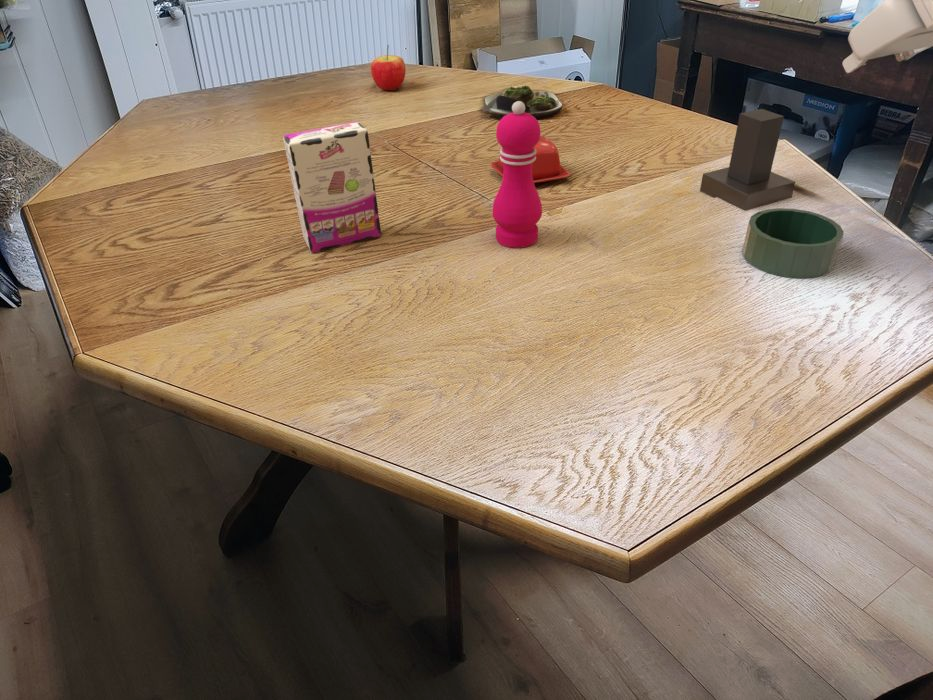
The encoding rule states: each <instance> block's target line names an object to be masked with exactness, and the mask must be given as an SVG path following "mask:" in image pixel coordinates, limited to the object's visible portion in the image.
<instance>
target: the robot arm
mask: <svg viewBox="0 0 933 700" xmlns="http://www.w3.org/2000/svg"><path fill="white" fill-rule="evenodd" d="M847 41H848V44H849V46H850V49H851V50H852V53H851V54H850V55H848V56H847V57H846V58H845V59H843V61H842V67H843V70H844V71H845V72H846V74H850V73H855V72H858V71H860V69H862V68H864V67H865V66H866V65H867V63H866V62H867V61H869V60H874V59H877V58H883V57H888V56H893V55H894V57H895V60H896V61H897V62H903V61H904V62H905V61H908V60H910V59H911V58H913V57H914V56H916V55H917V54H919V53H922V52H923V51H926V50H928V49H930V48H932V47H933V0H883V1H882V2H880V4H878V5H877V6H876V7H874V8H873V10H872V11H870V12H869V13H868V14H867V15H866V16H865V17H863V18H862V19H861V20H860V21H859V22H858V23H857V24H855V26H853V27H852V29H851V30H850V32H849V34H848V37H847Z"/></svg>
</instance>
